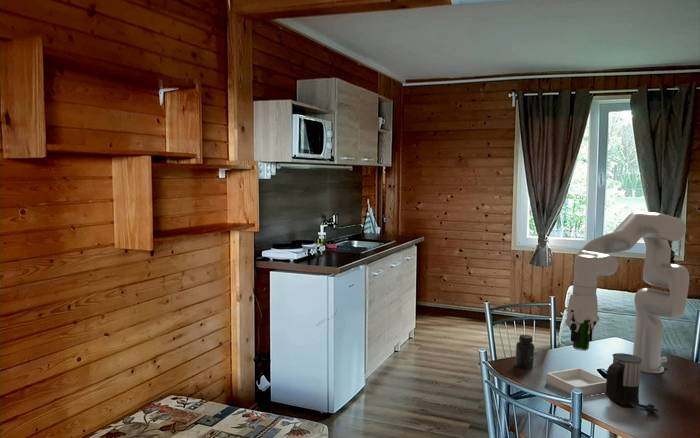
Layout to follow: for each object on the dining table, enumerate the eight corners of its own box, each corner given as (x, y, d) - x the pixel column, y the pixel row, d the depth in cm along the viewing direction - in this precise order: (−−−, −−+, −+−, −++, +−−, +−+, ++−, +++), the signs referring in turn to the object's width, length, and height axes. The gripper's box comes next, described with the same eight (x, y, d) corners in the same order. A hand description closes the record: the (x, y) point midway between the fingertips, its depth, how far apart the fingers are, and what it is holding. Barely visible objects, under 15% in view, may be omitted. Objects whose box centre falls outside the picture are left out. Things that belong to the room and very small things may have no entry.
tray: (579, 378, 207) (579, 367, 206) (610, 392, 194) (611, 381, 194) (545, 383, 200) (546, 373, 200) (575, 399, 188) (576, 387, 187)
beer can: (572, 349, 194) (575, 316, 193) (571, 345, 199) (573, 312, 198) (589, 351, 193) (592, 317, 191) (588, 347, 198) (590, 313, 197)
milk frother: (613, 392, 195) (616, 350, 193) (664, 405, 185) (667, 361, 183) (601, 404, 184) (604, 360, 182) (654, 419, 174) (658, 373, 172)
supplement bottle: (534, 370, 214) (536, 339, 213) (515, 368, 215) (517, 338, 214) (532, 364, 220) (534, 334, 219) (514, 362, 222) (515, 332, 221)
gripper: (593, 286, 201) (590, 335, 203) (557, 289, 194) (554, 340, 196) (611, 290, 194) (607, 341, 196) (574, 294, 187) (570, 347, 189)
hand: (581, 340), depth 196 cm, fingers closed on beer can, 5 cm apart
